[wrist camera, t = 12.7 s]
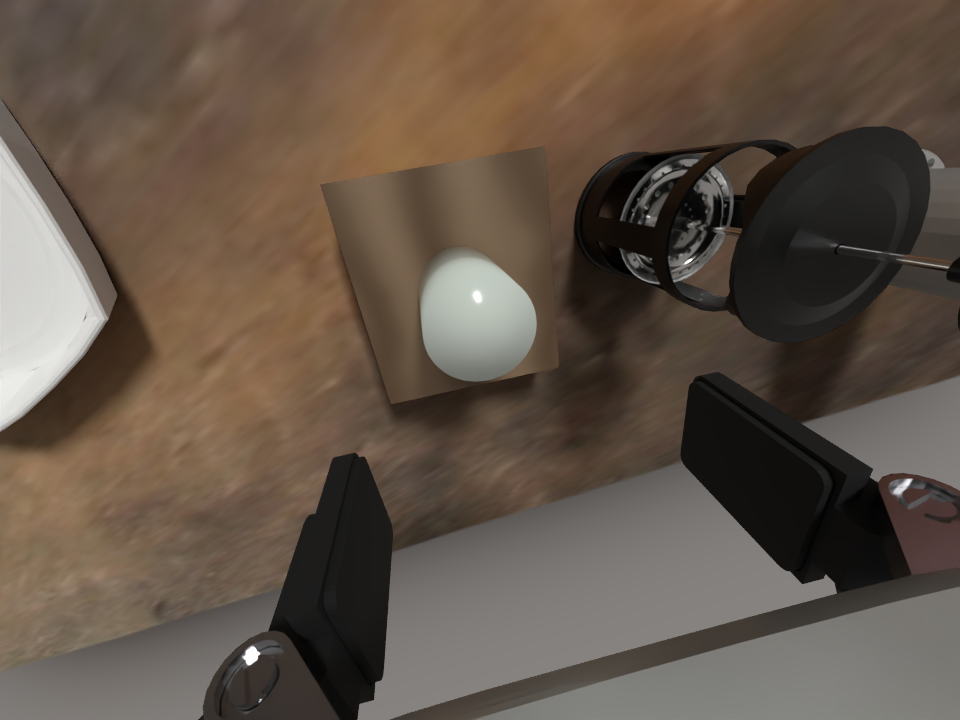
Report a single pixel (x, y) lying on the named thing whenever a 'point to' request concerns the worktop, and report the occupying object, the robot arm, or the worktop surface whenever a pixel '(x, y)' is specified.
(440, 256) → the white rounded capsule
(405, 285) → the brown wooden block
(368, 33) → the worktop surface
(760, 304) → the french press
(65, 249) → the pan
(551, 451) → the worktop surface
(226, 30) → the worktop surface
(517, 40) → the worktop surface
